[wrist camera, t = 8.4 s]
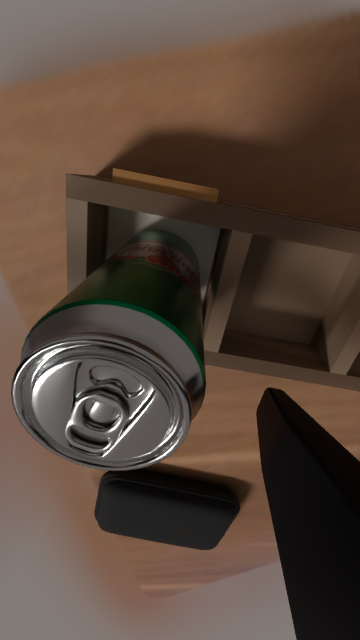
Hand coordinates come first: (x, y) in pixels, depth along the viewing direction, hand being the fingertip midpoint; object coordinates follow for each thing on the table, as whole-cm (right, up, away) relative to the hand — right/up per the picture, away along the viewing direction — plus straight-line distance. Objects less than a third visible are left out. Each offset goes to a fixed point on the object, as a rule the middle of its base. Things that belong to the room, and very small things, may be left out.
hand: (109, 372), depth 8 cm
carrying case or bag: (0, -19, +23) cm, 30 cm away
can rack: (+9, +4, +11) cm, 14 cm away
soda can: (+1, +5, +10) cm, 11 cm away
